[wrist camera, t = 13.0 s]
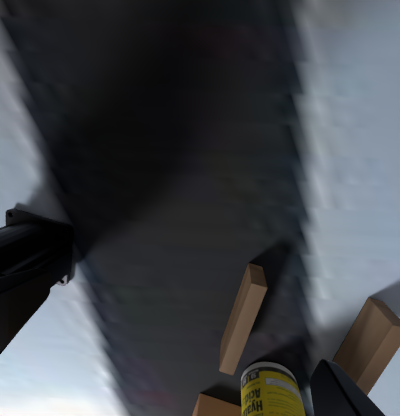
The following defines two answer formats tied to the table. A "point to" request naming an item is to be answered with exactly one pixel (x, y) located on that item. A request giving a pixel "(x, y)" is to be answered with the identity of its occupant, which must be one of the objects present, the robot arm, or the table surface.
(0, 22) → the table surface
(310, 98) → the table surface
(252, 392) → the supplement bottle
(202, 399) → the trap pit
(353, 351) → the walled lane
